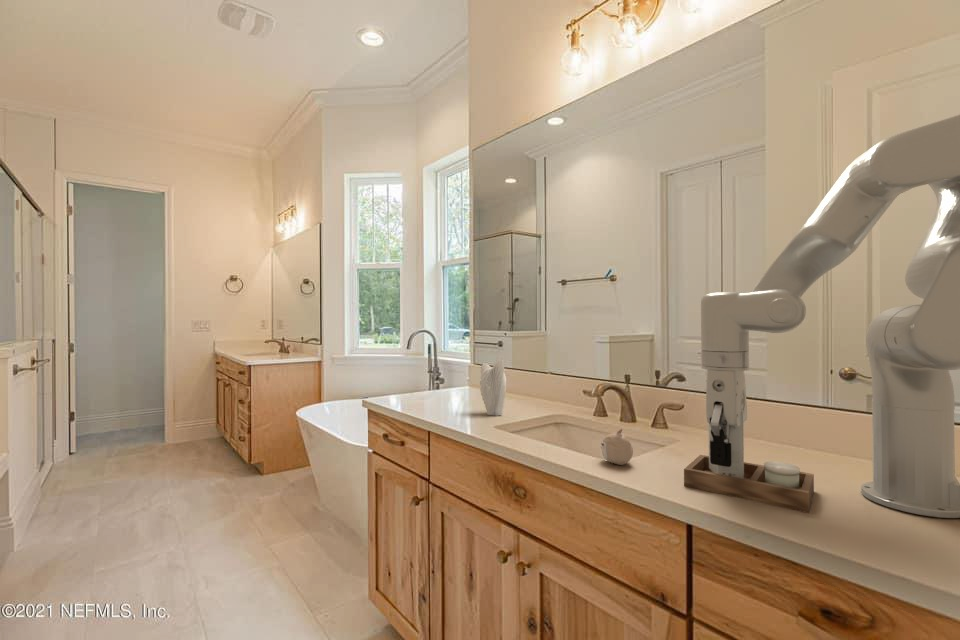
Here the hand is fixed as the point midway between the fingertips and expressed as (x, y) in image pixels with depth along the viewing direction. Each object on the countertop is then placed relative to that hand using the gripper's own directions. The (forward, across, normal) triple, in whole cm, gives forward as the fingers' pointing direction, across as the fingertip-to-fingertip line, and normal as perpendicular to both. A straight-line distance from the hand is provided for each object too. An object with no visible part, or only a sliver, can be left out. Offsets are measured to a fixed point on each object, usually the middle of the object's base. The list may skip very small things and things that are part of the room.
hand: (725, 458), depth 81 cm
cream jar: (+5, 0, -8) cm, 10 cm away
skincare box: (+3, 0, 0) cm, 3 cm away
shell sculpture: (+5, +22, +70) cm, 73 cm away
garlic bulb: (+5, 0, +20) cm, 21 cm away
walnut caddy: (+5, 0, -3) cm, 6 cm away
